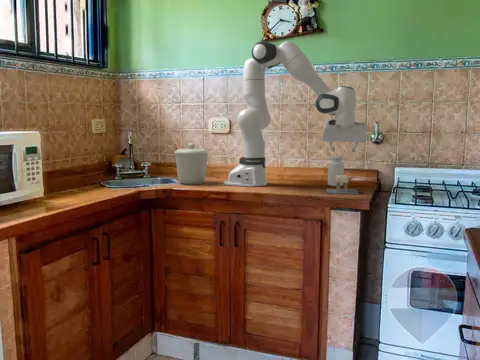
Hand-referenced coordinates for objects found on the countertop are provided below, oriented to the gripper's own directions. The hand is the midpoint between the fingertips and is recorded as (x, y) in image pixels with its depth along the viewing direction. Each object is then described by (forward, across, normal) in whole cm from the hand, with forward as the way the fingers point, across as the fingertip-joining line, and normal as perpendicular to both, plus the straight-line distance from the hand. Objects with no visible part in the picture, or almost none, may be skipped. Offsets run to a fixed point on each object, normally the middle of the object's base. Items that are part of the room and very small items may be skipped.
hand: (343, 151), depth 214 cm
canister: (+20, +76, -11) cm, 79 cm away
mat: (+19, 0, 0) cm, 19 cm away
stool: (+19, 0, 0) cm, 19 cm away
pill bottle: (+19, +2, -22) cm, 29 cm away
